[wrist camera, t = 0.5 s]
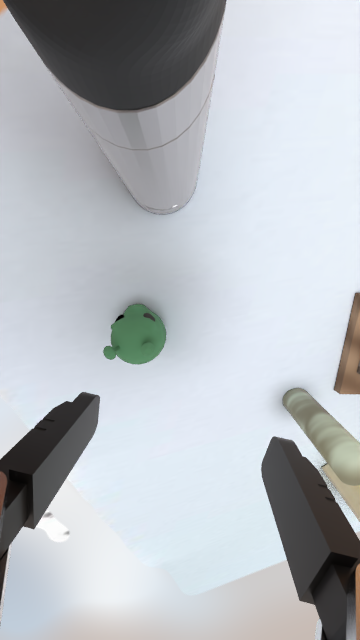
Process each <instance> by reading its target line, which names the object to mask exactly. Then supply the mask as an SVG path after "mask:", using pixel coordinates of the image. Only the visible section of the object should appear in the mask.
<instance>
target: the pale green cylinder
mask: <svg viewBox="0 0 360 640" xmlns="http://www.w3.org/2000/svg"><path fill="white" fill-rule="evenodd" d="M283 405H284V406H285V408H286V409H287V410H288V412H289V413H290V414H291V416H292V417H293V418H294V420H295V421H296V422H297V424H298V425H299V426H300V428H301V429H302V430H303V431H304V433H305V434H306V435H307V437H308V438H309V439H310V441H311V442H312V443H313V445H314V446H315V447H316V449H317V450H318V451H319V453H320V454H321V455H322V457H323V458H324V459H325V461H326V462H327V463H328V465H329V466H330V467H331V469H332V470H333V471H334V473H335V474H336V475H337V476H338V478H339V479H340V480H341V481H342V482H343V483H345V484H347V485H351V486H357V485H360V443H359V442H358V441H357V440H356V439H355V438H354V437H353V436H352V435H351V434H350V433H349V432H348V431H347V430H346V429H345V428H344V427H343V426H342V425H341V424H340V423H339V422H338V421H336V420H335V419H334V418H333V417H332V416H331V415H330V414H329V413H328V412H327V411H326V410H325V409H324V408H323V407H322V406H321V405H320V404H319V403H318V402H317V401H316V400H315V399H314V398H313V397H312V396H311V395H310V394H309V393H308V392H307V391H305V390H304V389H301V388H294V389H291V390H289V391H288V392H287V393H286V394H285V395H284V397H283Z"/></svg>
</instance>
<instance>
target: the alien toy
mask: <svg viewBox="0 0 360 640" xmlns="http://www.w3.org/2000/svg"><path fill="white" fill-rule="evenodd" d="M111 329H112V333H111V344H112V347H111V346H106V347H105V348H104V351H103V353H104V355H105V357H106V358H107V359H110V360H112V359H114V358H115V357H116V355H117V356H118V357H119V358H120V359H122V360H123V361H125V362H127V363H131V364H143V363H147V362H149V361H151V360H153V359H154V358H155V357H156V356H158V355H159V353H160V352H161V350H162V349H163V347H164V344H165V341H166V331H165V327H164V324H163V322H162V320H161V319H160V318H159V317H158V316H157V315H156V314H154V313H153V312H151V311H150V310H149V309H148V308H146V307H145V306H144V305H141V304H135V305H131V306H128V308H127V309H126V311H125V313H124V314H123V315H120V316H118V318H117V319H116V321H115V323H114V324H112V325H111Z"/></svg>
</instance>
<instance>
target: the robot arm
mask: <svg viewBox="0 0 360 640" xmlns="http://www.w3.org/2000/svg"><path fill="white" fill-rule="evenodd" d="M3 1H4V3H5V4H6V6H7V8H8V9H9V11H10V12H11V14H12V16H13V17H14V19H15V21H16V22H17V24H18V25H19V27H20V28H21V29H22V31H23V32H24V34H25V35H26V37H27V38H28V40H29V41H30V43H31V44H32V46H33V47H34V49H35V50H36V52H37V53H38V55H39V56H40V58H41V59H42V61H43V62H44V64H45V66H46V67H47V69H48V70H49V72H50V73H51V75H52V76H53V78H54V79H55V81H56V82H57V84H58V85H59V87H60V88H61V90H62V91H63V93H64V94H65V96H66V97H67V99H68V100H69V102H70V103H71V105H72V106H73V108H74V109H75V111H76V112H77V113H78V115H79V116H80V118H81V119H82V121H83V122H84V124H85V125H86V127H87V128H88V130H89V131H90V133H91V134H92V136H93V137H94V139H95V140H96V142H97V143H98V145H99V146H100V148H101V149H102V151H103V152H104V154H105V155H106V157H107V158H108V160H109V161H110V163H111V164H112V166H113V167H114V169H115V170H116V172H117V173H118V175H119V176H120V178H121V179H122V181H123V182H124V184H125V186H126V187H127V189H128V190H129V191H130V193H131V194H132V196H133V197H134V199H135V200H136V202H137V203H138V204H139V205H140V206H142V207H143V208H144V209H146V210H148V211H150V212H153V213H155V214H170V213H173V212H175V211H177V210H179V209H181V208H182V207H183V206H184V205H185V204H186V203H187V202H188V201H189V200H190V198H191V197H192V195H193V193H194V191H195V188H196V184H197V179H198V173H199V168H200V162H201V156H202V150H203V144H204V138H205V131H206V125H207V119H208V113H209V107H210V101H211V95H212V88H213V82H214V76H215V68H216V62H217V56H218V50H219V44H220V37H221V31H222V25H223V19H224V13H225V5H226V0H3ZM99 403H100V397H99V395H94V394H90V393H86V392H82V393H80V394H79V395H78V397H77V398H76V399H75V400H74V401H73V402H68V401H66V402H64V403H62V404H60V405H59V406H57V407H55V408H53V409H52V410H51V411H50V412H49V413H48V414H47V415H46V416H45V417H44V418H43V420H41V421H40V422H39V423H38V424H37V425H36V426H35V427H34V429H32V430H30V431H29V432H28V433H27V434H26V435H25V436H24V437H23V438H22V439H21V440H20V441H19V442H18V443H17V444H16V445H15V446H14V447H13V448H12V449H11V450H10V451H9V452H8V453H7V454H6V455H4V456H3V458H1V460H0V624H1V617H2V610H3V602H4V595H5V587H6V580H7V574H8V566H9V559H10V552H11V543H12V541H13V540H14V538H15V537H16V535H17V534H18V533H19V531H20V530H21V528H22V527H23V526H24V527H28V528H32V529H34V528H35V527H36V525H37V524H38V522H39V521H40V519H41V517H42V516H43V514H44V513H45V511H46V509H47V508H48V506H49V504H50V503H51V501H52V500H53V498H54V497H55V495H56V494H57V492H58V490H59V489H60V487H61V486H62V484H63V483H64V481H65V479H66V478H67V476H68V475H69V473H70V472H71V470H72V468H73V467H74V465H75V464H76V462H77V460H78V459H79V457H80V456H81V454H82V453H83V451H84V449H85V448H86V446H87V445H88V443H89V441H90V440H91V438H92V437H93V435H94V433H95V430H96V427H97V423H98V414H99ZM261 471H262V478H263V482H264V485H265V488H266V492H267V495H268V498H269V502H270V505H271V508H272V511H273V515H274V518H275V521H276V524H277V528H278V531H279V534H280V538H281V541H282V544H283V547H284V551H285V554H286V557H287V561H288V564H289V567H290V570H291V574H292V577H293V580H294V583H295V587H296V590H297V593H298V597H299V600H300V601H303V602H307V603H310V604H314V605H315V606H316V609H317V612H318V615H319V617H320V618H319V620H318V622H317V626H316V635H315V640H360V540H359V539H358V537H357V535H356V534H355V532H354V530H353V529H352V527H351V525H350V524H349V522H348V520H347V519H346V517H345V515H344V513H343V512H342V510H341V508H340V507H339V505H338V503H336V502H335V498H334V497H333V495H332V493H331V491H330V490H329V489H328V488H327V485H326V483H325V481H324V480H323V478H322V476H321V475H320V473H319V471H318V470H317V469H316V468H315V467H314V466H313V465H312V463H311V462H310V461H309V460H308V459H307V458H306V457H302V455H301V453H300V451H299V449H298V448H297V446H296V444H295V443H294V442H293V441H292V440H288V439H283V438H279V437H273V438H272V439H271V441H270V444H269V446H268V449H267V451H266V454H265V456H264V459H263V461H262V467H261Z"/></svg>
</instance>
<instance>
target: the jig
mask: <svg viewBox="0 0 360 640" xmlns="http://www.w3.org/2000/svg"><path fill="white" fill-rule="evenodd" d="M334 390H335V391H337V392H338V393H339V394H360V293H355V298H354V302H353V307H352V311H351V316H350V320H349V325H348V329H347V334H346V338H345V343H344V347H343V352H342V356H341V361H340V365H339V370H338V374H337V379H336V383H335V388H334Z"/></svg>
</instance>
